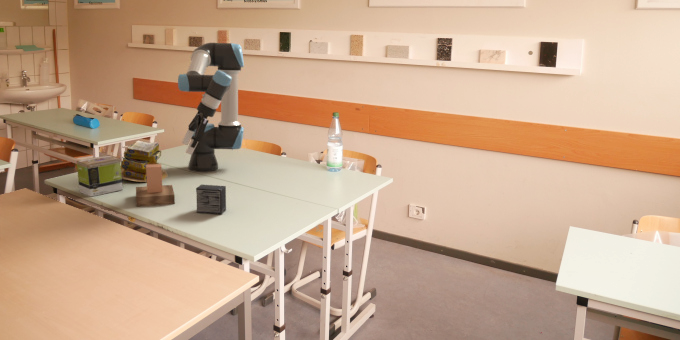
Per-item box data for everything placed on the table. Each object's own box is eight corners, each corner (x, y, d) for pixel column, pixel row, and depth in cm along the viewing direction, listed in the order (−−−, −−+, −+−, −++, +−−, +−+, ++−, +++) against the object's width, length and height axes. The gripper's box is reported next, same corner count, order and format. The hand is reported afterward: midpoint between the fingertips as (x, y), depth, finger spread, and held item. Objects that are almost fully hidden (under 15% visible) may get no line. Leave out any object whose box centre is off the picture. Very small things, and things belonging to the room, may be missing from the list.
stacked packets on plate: (177, 173, 272) (176, 140, 268) (148, 185, 249) (146, 150, 245) (134, 168, 278) (132, 136, 274) (102, 180, 255) (99, 145, 251)
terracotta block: (161, 188, 232) (160, 163, 230) (162, 192, 228) (161, 166, 225) (147, 189, 230) (145, 164, 228) (147, 192, 226) (146, 167, 223)
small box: (226, 209, 222) (226, 185, 219) (221, 215, 215) (221, 189, 213) (201, 208, 222) (201, 183, 220) (196, 213, 216) (195, 188, 214)
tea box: (111, 185, 247) (109, 154, 243) (123, 190, 241) (121, 158, 237) (78, 192, 236) (75, 159, 232) (89, 197, 229) (87, 163, 226)
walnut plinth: (172, 193, 239) (172, 184, 238) (174, 203, 226) (174, 194, 225) (136, 195, 234) (135, 186, 233) (136, 206, 221) (136, 197, 220)
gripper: (196, 95, 239) (175, 136, 242) (205, 108, 218) (181, 154, 220) (211, 102, 243) (190, 143, 246) (221, 116, 221) (198, 161, 224)
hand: (186, 148), depth 233 cm, fingers open, 13 cm apart
